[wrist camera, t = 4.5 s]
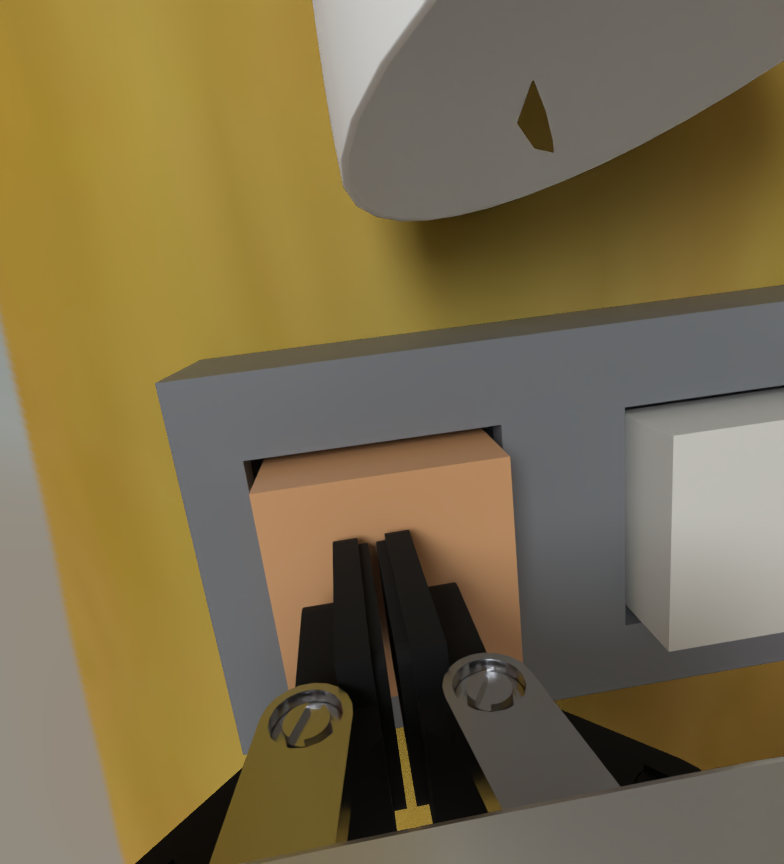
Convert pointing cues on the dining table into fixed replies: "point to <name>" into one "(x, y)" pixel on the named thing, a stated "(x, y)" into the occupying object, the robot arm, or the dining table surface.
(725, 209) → the dining table surface
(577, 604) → the key panel
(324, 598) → the orange key
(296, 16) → the dining table surface
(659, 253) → the dining table surface
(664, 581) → the white key
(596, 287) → the dining table surface
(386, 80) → the rocket engine
